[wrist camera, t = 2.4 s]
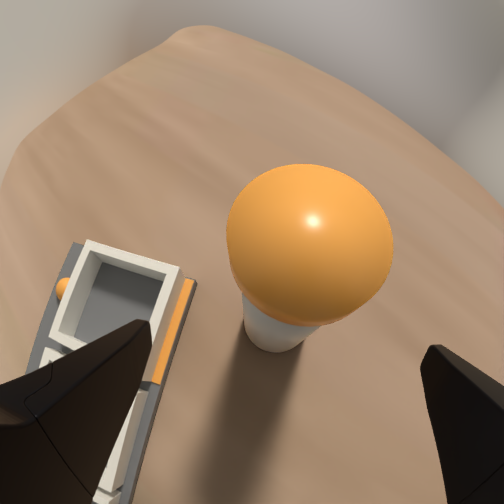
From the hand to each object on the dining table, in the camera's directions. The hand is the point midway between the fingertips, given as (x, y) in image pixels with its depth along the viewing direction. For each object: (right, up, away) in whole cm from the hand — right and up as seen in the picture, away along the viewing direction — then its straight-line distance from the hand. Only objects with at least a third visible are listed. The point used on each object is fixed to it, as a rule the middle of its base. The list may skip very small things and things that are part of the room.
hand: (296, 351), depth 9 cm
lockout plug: (0, -1, +10) cm, 10 cm away
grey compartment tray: (-13, -8, +7) cm, 16 cm away
